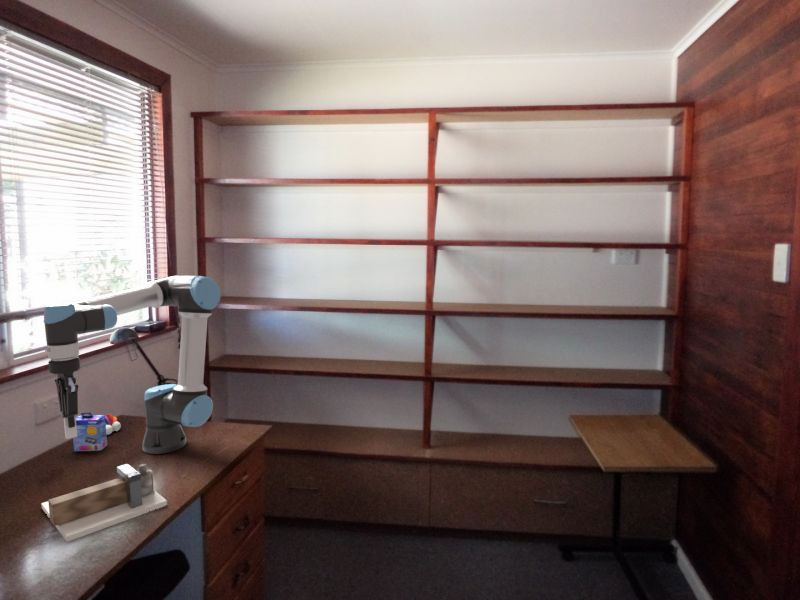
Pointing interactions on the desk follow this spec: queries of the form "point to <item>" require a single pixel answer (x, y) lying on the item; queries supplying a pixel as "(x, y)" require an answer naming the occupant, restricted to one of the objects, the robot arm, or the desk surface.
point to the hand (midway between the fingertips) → (71, 437)
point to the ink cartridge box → (90, 433)
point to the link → (95, 498)
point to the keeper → (131, 485)
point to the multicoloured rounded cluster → (111, 424)
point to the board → (106, 516)
